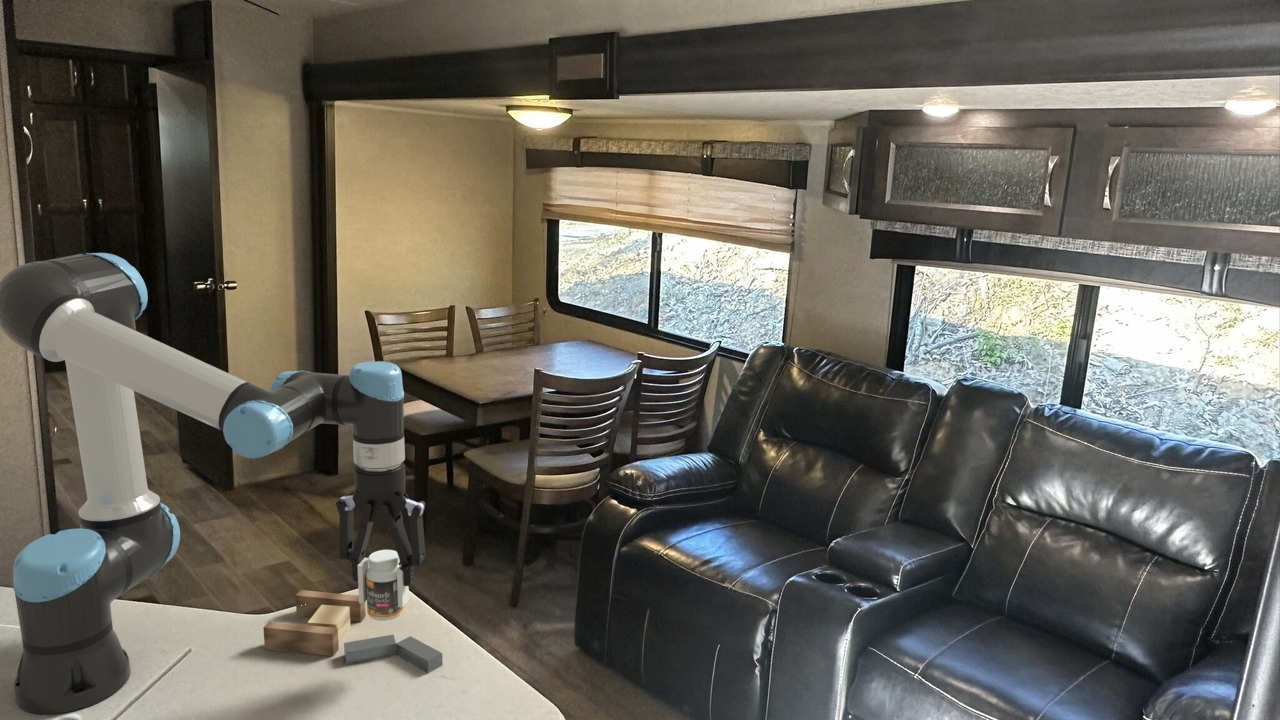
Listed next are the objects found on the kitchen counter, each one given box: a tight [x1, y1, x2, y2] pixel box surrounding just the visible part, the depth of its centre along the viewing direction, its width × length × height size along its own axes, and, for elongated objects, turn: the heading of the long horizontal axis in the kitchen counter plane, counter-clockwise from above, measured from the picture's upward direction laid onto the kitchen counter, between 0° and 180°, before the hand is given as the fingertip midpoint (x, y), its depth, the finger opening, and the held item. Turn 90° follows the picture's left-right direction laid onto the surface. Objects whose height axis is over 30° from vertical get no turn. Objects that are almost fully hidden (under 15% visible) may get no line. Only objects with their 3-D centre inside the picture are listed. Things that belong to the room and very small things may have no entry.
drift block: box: [307, 605, 351, 643], centre depth 156 cm, size 5×6×4 cm
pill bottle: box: [366, 549, 405, 622], centre depth 144 cm, size 6×6×10 cm
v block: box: [343, 634, 444, 674], centre depth 150 cm, size 17×7×2 cm, turn 83°
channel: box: [262, 589, 366, 657], centre depth 156 cm, size 12×13×4 cm
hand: (384, 600), depth 144 cm, fingers closed on pill bottle, 6 cm apart
